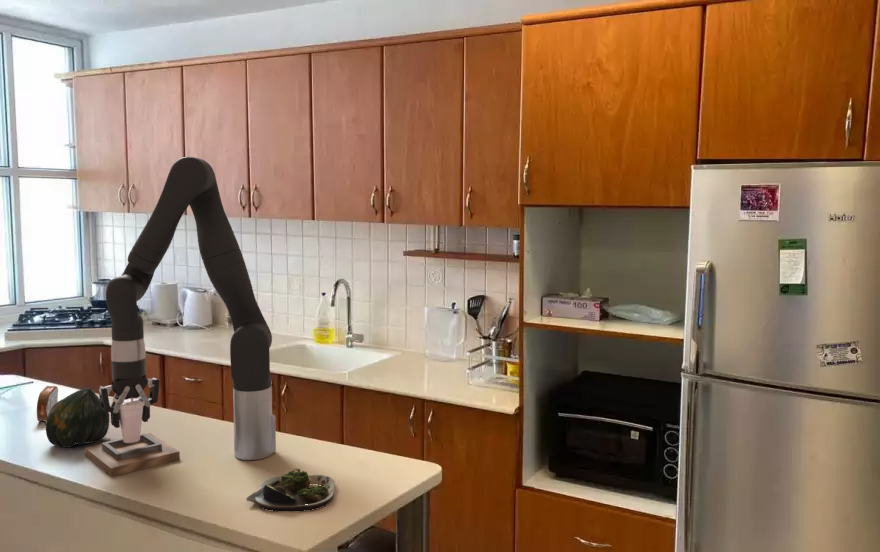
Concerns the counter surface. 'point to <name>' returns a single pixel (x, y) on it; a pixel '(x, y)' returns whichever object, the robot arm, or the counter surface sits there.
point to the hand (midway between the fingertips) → (130, 423)
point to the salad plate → (294, 492)
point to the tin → (46, 402)
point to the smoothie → (131, 419)
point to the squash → (77, 420)
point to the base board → (131, 454)
